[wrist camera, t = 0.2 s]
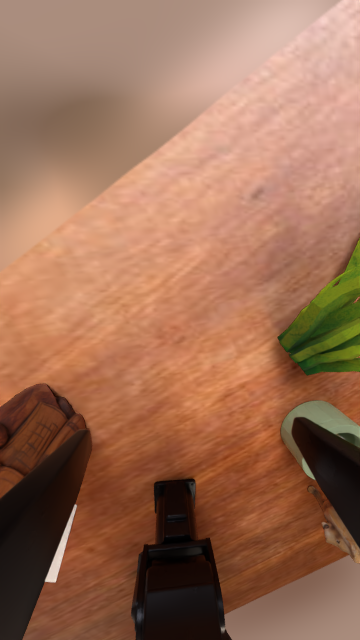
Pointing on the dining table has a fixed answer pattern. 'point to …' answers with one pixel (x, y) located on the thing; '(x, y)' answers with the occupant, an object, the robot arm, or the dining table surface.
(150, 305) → the dining table surface
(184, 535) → the robot arm
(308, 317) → the decorative plant
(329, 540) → the lion figurine
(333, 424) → the jar
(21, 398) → the wooden figurine
